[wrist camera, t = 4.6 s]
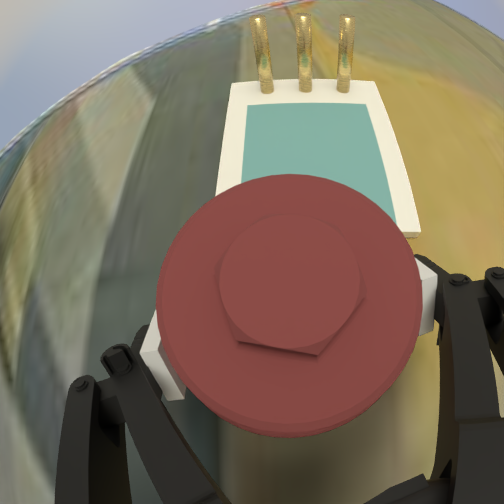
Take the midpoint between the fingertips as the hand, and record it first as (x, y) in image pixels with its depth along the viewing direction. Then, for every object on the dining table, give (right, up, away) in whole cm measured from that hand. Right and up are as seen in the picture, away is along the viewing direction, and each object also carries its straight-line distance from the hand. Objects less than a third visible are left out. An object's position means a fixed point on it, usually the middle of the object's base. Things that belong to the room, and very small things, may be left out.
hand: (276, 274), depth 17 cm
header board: (+4, +11, +10) cm, 15 cm away
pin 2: (+4, +18, +12) cm, 22 cm away
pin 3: (+8, +18, +11) cm, 23 cm away
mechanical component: (+1, -4, +3) cm, 5 cm away
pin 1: (0, +18, +12) cm, 22 cm away
